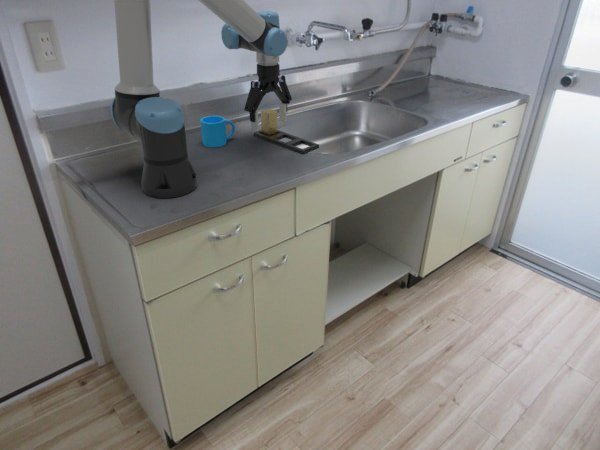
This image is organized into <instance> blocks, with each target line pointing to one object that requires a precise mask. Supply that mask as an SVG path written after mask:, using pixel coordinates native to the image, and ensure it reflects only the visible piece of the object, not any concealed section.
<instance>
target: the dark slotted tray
mask: <svg viewBox="0 0 600 450" xmlns="http://www.w3.org/2000/svg"><path fill="white" fill-rule="evenodd" d="M253 137H256V138H258V139H261V140H264V141H266V142H269V143H271V144H275V145H277V146H279V147H282V148H284V149H288V150H290V151H293V152H294V153H295V152H296V153H298V154H300V155H305V154H308V153H310V152H312V151H315V150H317V149H318V150H319V148H320V144H319V143H316V142H313V141H310V140H308V139H305V138H302V137H299V136H296V135H293V134H291V133H288V132H284V131H282V130H279V129H277V134H275V135H272V136H270V137H269V136H266V135H264V134H262V131H261V129H260V130H258V131H254V132H253ZM284 138H285V139H288V140H289V141H287V142H285V141H282V140H283V139H284ZM300 145H305V146H307V147H305V148H301V147H298V146H300Z"/></svg>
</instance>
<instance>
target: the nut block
mask: <svg viewBox="0 0 600 450" xmlns="http://www.w3.org/2000/svg"><path fill="white" fill-rule="evenodd" d="M260 119H261V120H260V123H261V124H260V125H261V128H260V130H261V131H262V134H264V135H266V136H269V137H270V136H272V135H275V134H277V130H278V111H277V110H276V109H275V110H274V109H272V108H267V109H264V110H260Z"/></svg>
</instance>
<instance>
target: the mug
mask: <svg viewBox="0 0 600 450" xmlns="http://www.w3.org/2000/svg"><path fill="white" fill-rule="evenodd" d="M199 122H200V131H201V141H202V145H203V146H205V147H208V148H219V147H220V148H221V147H223V146H225V145H226V144H227V140H229V139H230V138H231V137H232V136H233V135H234V133H235V132H236V126H235V123H233V122H232V121H231V120H230V119H226V118H225V117H223V116H220V115H208V116H205V117H201V119H200V121H199ZM226 123H229V124H230V125H231V128H232V129H231V131H230V133H229V134H228V135H227V128H226V127H227V126H226Z"/></svg>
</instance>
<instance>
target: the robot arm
mask: <svg viewBox="0 0 600 450" xmlns="http://www.w3.org/2000/svg"><path fill="white" fill-rule="evenodd" d="M113 1H114V15H115V17H114V18H115V29H116V41H117V55H118V57H117V59H118V68H119V83H118V84H117V85H116V86H115V87H114V95H115V96H114V98H113V99H112V100H111V103H110V110H109V111H110V115H111V119H112V121H113V123H114V124H115V125H116V126H117V128H118V129H119V130H120V131H122V132H123V133H124V134H126V135H128V136H130V137H131V138H134V139H135V140H137V141H138V142H139V143H140V145H141V152H142V156H143V157H142V158H143V163H144V164H143V168H142V173H141V178H140V179H141V180H140V185H141V189H142V192H143V193H144V194H145V195H147V196H149V197H153V198H157V199H158V198H159V199H160V198H161V199H172V198H177V197H181V196H184V195H187V194H190V193H192V192H193V191H195V189H196V188H197V187H198V184H199V181H198V176H197V172H196V170H195V169H194V167H193V165H192V163H191V160H190V158H189V152H188V145H187V144H188V143H187V134H186V127H185V115H184V113H183V108H182V107H181V105H180V104H179V103H178V102H177V101H175V100H174V99H171V98H167V97H166V98H165V97H161V96H160V89H159V87H157V85H155V83H154V66H153V65H154V63H153V41H152V38H153V37H152V19H151V18H152V17H151V16H152V12H151V0H113ZM198 1H199V2H200V3H201V4H202V5H203V6H205V7H206V8H207V9H208V10H210V12H212V13H213V14H214V15H215V16H217V17H218V18H219V19H220V20H222V22H224V23H225V24H223V25H222V28H221V40H222V43H223V45H224V47H225V48H227V50H238V49H239V50H240V49H244V50H247V51H250V52H255V54H256V55H255V57H256V62H257V64H256V76H257V77H258V79H257V80H256V81H254V80H251V81H250V89H249V92H248V95H247V99H246V102H245V104H244V108H243V109H244V111H246V112H248V113H249V122H250V123H251V125H250V127H251V130H252V131H254V132H257V131H259V112H258V111H257V110H258V108H259V106H260V104H261V102H262V101H263V98H264V97H265V96H266V95H267V94H269V93H271V92H273V93H274V94H275V95H276V97H277V98H278V100H279V101H280V102H279V103H278V104H279V105H278V106H279V121H280V122H282V123H287V112H288V105H289V104H290V102H291V101H292V97H293V96H292V95H291V92H290V90H289V86H288V84H287V81H286V76H285V74H284V75H283V74H280V72H281V71H280V67H281V66H280V64H279V63H280V57H281V56H282V55H283V54H284V53H285V51H286V50H287V47H288V41H289V40H288V37H287V34H286V32H285V31H284V30H283V29H282V28H280V27H281V26H280V16H279V13H278V12H276V11H273V10H260V11H255V9H254V8H252V6H250V4H248V3H247V2H246V1H245V0H198ZM278 84H279V85H278Z"/></svg>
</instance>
